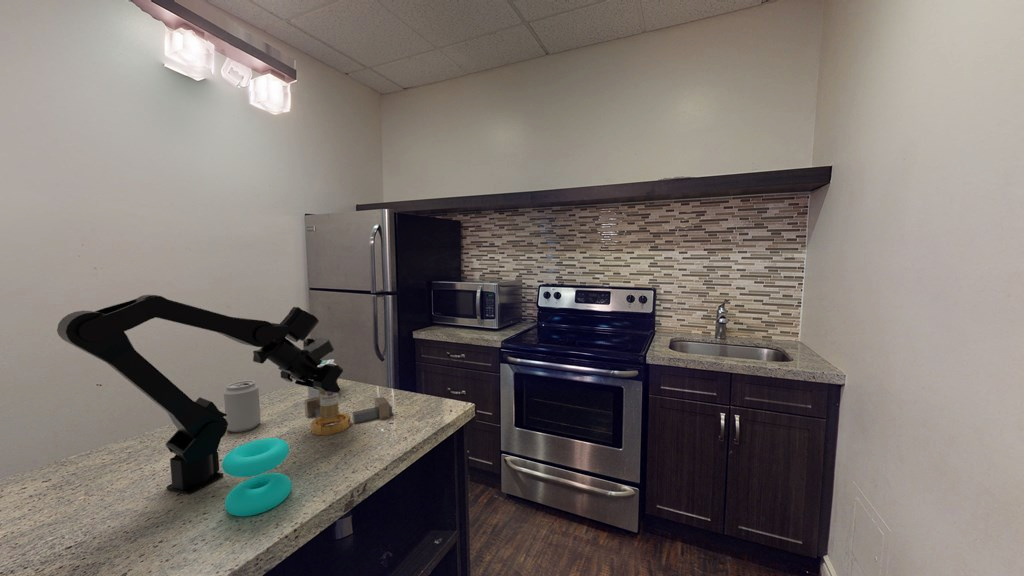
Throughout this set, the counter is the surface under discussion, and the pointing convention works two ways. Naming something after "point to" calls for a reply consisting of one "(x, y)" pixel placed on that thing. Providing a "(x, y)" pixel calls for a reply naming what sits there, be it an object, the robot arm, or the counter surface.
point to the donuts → (261, 488)
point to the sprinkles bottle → (328, 403)
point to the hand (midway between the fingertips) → (333, 389)
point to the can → (242, 405)
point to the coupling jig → (344, 416)
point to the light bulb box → (315, 392)
